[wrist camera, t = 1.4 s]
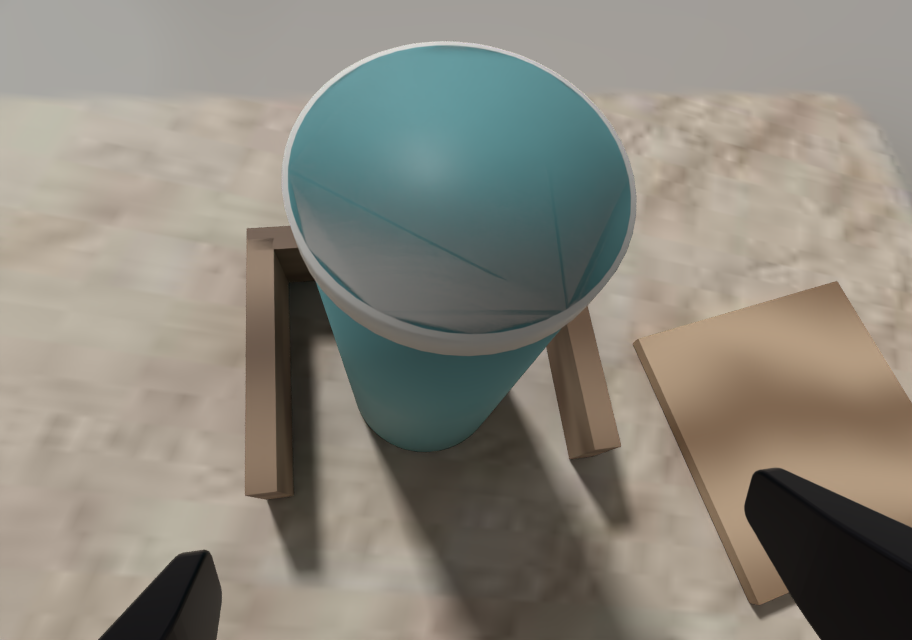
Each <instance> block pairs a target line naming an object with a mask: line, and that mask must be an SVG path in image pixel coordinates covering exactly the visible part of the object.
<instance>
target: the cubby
mask: <svg viewBox="0 0 912 640" xmlns="http://www.w3.org/2000/svg"><path fill="white" fill-rule="evenodd" d="M302 281H315V279H314V278H313V276H312V275H311V274H310V272H309V270H308V268H307V266H306V264H305V262H304V260H303V258H302V256H301V254H300V252H299V249H298V246H297V243H296V241H295V238H294V235H293V232H292V229H291V226H280V227H264V228H247V262H246V411H245V496H250V497H255V498H261V499H266V500H267V499H275V498H282V497H290V496H294V488H293V447H292V407H291V366H290V325H289V284H288V283H289V282H302ZM546 348H547V352H548V357H549V362H550V367H551V372H552V377H553V382H554V387H555V391H556V396H557V401H558V406H559V411H560V416H561V421H562V426H563V430H564V435H565V440H566V445H567V450H568V455H569V459H577V458H584V457H592V456H595V455H598V454H601V453H604V452H607V451H609V450H612V449H615V448H618V447H621V443H620V439H619V435H618V431H617V427H616V422H615V418H614V414H613V410H612V406H611V402H610V398H609V393H608V389H607V385H606V381H605V377H604V373H603V368H602V364H601V360H600V356H599V352H598V348H597V344H596V339H595V335H594V331H593V327H592V323H591V319H590V315H589V310H588V306H587V307H586V308H585V309H584V310H583V311H582V312H581V313H579V314H578V315H577V316H576V317H575V318H574V319H573V320H572V321H571V322H569V323H568V324H566V325H565V326H564V327H562V328H561V329H560V331H559V332H558V333H557V334H556V335H555V337H554V338H553V339H552V340H551V341H550V343H549V344H548V345H547V346H546Z"/></svg>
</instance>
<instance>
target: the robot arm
mask: <svg viewBox="0 0 912 640" xmlns="http://www.w3.org/2000/svg"><path fill="white" fill-rule="evenodd" d="M744 512H745V516H746V518H747V521H748V523H749V524H750V526H751V528H752V529H753V531H754V533H755V535H756V536H757V538H758V540H759V541H760V543H761V545H762V547H763V548H764V550H765V552H766V554H767V555H768V557H769V559H770V560H771V562H772V564H773V566H774V567H775V569H776V571H777V572H778V574H779V576H780V578H781V579H782V581H783V583H784V584H785V586H786V588H787V590H788V591H789V593H790V595H791V596H792V598H793V599H794V601H795V603H796V604H797V606H798V607H799V609H800V610H801V612H802V613H803V615H804V616H805V618H806V619H807V621H808V622H809V624H810V625H811V626H812V628H813V629H814V631H815V632H816V634H817V635H818V636H819V638H820V639H821V640H912V527H910V526H907V525H905V524H903V523H901V522H899V521H896V520H894V519H892V518H890V517H888V516H885V515H883V514H881V513H879V512H877V511H874V510H872V509H870V508H868V507H866V506H863V505H861V504H859V503H857V502H855V501H852V500H850V499H848V498H846V497H844V496H842V495H839V494H837V493H835V492H833V491H831V490H828V489H826V488H824V487H822V486H820V485H817V484H815V483H813V482H811V481H809V480H806V479H804V478H802V477H800V476H798V475H795V474H793V473H791V472H789V471H787V470H784V469H782V468H768V469H761V470H757V471H755V472H754V474H753V475H752V478H751V481H750V485H749V489H748V492H747V496H746V500H745V504H744ZM221 603H222V591H221V585H220V582H219V579H218V575H217V572H216V568H215V565H214V562H213V558H212V555H211V554H210V552H209V551H207V550H199V551H192V552H185V553H181V554H179V555H178V556H176V557H175V558H174V559H173V560H172V561H171V562H170V563H169V564H168V565H167V566H166V567H165V569H164V570H163V571H162V572H161V573H160V574H159V575H158V576H157V577H156V578H155V579H154V580H153V581H152V583H151V584H150V585H149V586H148V587H147V588H146V589H145V590H144V591H143V592H142V593H141V594H140V595H139V596H138V598H137V599H136V600H135V601H134V602H133V603H132V604H131V605H130V606H129V607H128V608H127V609H126V610H125V611H124V613H123V614H122V615H121V616H120V617H119V618H118V619H117V620H116V621H115V622H114V623H113V624H112V625H111V626H110V628H109V629H108V630H107V631H106V632H105V633H104V634H103V635H102V636H101V637H100V638H99V639H98V640H216V639H217V632H218V625H219V618H220V611H221Z"/></svg>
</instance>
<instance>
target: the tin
mask: <svg viewBox="0 0 912 640" xmlns="http://www.w3.org/2000/svg"><path fill="white" fill-rule="evenodd" d="M282 194H283V200H284V206H285V211H286V214H287V217H288V220H289V223H290V226H291V229H292V232H293V235H294V238H295V241H296V243H297V246H298V249H299V252H300V254H301V256H302V258H303V260H304V262H305V264H306V266H307V268H308V270H309V272H310V274H311V275H312V276H313V278H314V279H315V281H316V284H317V287H318V290H319V293H320V296H321V298H322V301H323V304H324V307H325V310H326V313H327V316H328V319H329V322H330V325H331V328H332V331H333V334H334V337H335V340H336V343H337V346H338V349H339V352H340V355H341V358H342V361H343V364H344V367H345V370H346V373H347V376H348V379H349V382H350V385H351V388H352V391H353V394H354V397H355V400H356V403H357V406H358V408H359V410H360V412H361V414H362V417H363V418H364V419H365V421H366V422H367V424H368V425H369V426H370V427H371V429H372V430H373V431H374V432H375V433H377V434H378V435H379V436H380V437H381V438H383V439H384V440H386V441H387V442H389V443H391V444H393V445H395V446H397V447H400V448H403V449H406V450H411V451H417V452H432V451H439V450H443V449H447V448H450V447H452V446H455V445H457V444H459V443H460V442H462V441H464V440H465V439H467V438H468V437H469V436H471V435H472V434H473V433H474V432H475V431H476V430H477V429H478V428H479V427H480V426H481V424H482V423H483V422H484V421H485V420H486V418H487V417H488V416H489V415H490V414H491V412H492V411H493V410H494V409H495V408H496V406H497V405H498V404H499V403H500V402H501V400H502V399H503V398H504V397H505V395H506V394H507V393H508V392H509V391H510V389H511V388H512V387H513V386H514V385H515V383H516V382H517V381H518V380H519V379H520V377H521V376H522V375H523V374H524V373H525V371H526V370H527V369H528V368H529V367H530V365H531V364H532V363H533V362H534V361H535V359H536V358H537V357H538V356H539V355H540V353H541V352H542V351H543V350H544V349H545V347H546V346H547V345H548V344H549V343H550V341H551V340H552V339H553V338H554V337H555V335H556V334H557V333H558V332H559V331H560V329H561V328H562V327H564V326H565V325H566V324H568V323H569V322H571V321H572V320H573V319H574V318H575V317H576V316H577V315H578V314H579V313H581V312H582V311H583V310H584V309H585V308H586V307H587V306H588V305H589V304H590V302H591V301H592V300H593V299H594V298H595V297H596V295H597V294H598V293H599V292H600V291H601V290H602V288H603V287H604V286H605V285H606V283H607V282H608V281H609V280H610V278H611V277H612V276H613V274H614V273H615V272H616V270H617V269H618V267H619V265H620V263H621V261H622V259H623V257H624V256H625V254H626V252H627V249H628V246H629V243H630V240H631V237H632V234H633V229H634V224H635V218H636V189H635V181H634V175H633V172H632V168H631V164H630V161H629V158H628V156H627V153H626V151H625V149H624V146H623V144H622V142H621V140H620V138H619V136H618V135H617V133H616V131H615V130H614V128H613V126H612V125H611V123H610V122H609V121H608V119H607V118H606V117H605V116H604V114H603V113H602V112H601V110H600V109H599V108H598V107H597V106H596V105H595V104H594V103H593V102H592V101H591V100H590V99H589V98H588V97H587V96H586V95H585V94H584V93H583V92H582V91H580V90H579V89H578V88H577V87H576V86H574V85H573V84H572V83H571V82H569V81H567V80H566V79H565V78H563V77H562V76H560V75H559V74H557V73H556V72H554V71H553V70H551V69H549V68H547V67H545V66H543V65H541V64H539V63H538V62H536V61H533V60H531V59H528V58H526V57H523V56H521V55H519V54H516V53H512V52H509V51H506V50H503V49H499V48H496V47H490V46H486V45H481V44H473V43H465V42H426V43H415V44H410V45H405V46H400V47H395V48H392V49H389V50H385V51H382V52H379V53H376V54H374V55H371V56H369V57H367V58H365V59H362V60H360V61H358V62H356V63H355V64H353V65H351V66H349V67H348V68H346V69H344V70H343V71H341V72H340V73H338V74H337V75H336V76H335V77H333V78H332V79H331V80H329V81H328V82H327V83H326V84H325V85H324V86H323V87H322V88H321V89H320V90H319V91H318V92H317V93H316V94H315V95H314V96H313V97H312V98H311V99H310V101H309V102H308V103H307V105H306V106H305V107H304V109H303V110H302V112H301V113H300V115H299V117H298V119H297V120H296V122H295V124H294V126H293V128H292V130H291V133H290V136H289V139H288V142H287V145H286V148H285V152H284V158H283V164H282Z"/></svg>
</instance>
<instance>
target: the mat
mask: <svg viewBox="0 0 912 640" xmlns="http://www.w3.org/2000/svg"><path fill="white" fill-rule="evenodd" d="M633 345H634V347H635V349H636V352H637V354H638V356H639V358H640V360H641V363H642V365H643V367H644V369H645V372H646V374H647V376H648V378H649V380H650V383H651V385H652V387H653V389H654V392H655V394H656V396H657V398H658V400H659V403H660V405H661V407H662V409H663V412H664V414H665V416H666V418H667V420H668V423H669V425H670V427H671V429H672V432H673V434H674V436H675V438H676V440H677V443H678V445H679V447H680V449H681V452H682V454H683V456H684V458H685V461H686V463H687V465H688V467H689V469H690V472H691V474H692V476H693V478H694V481H695V483H696V485H697V487H698V489H699V492H700V494H701V496H702V498H703V501H704V503H705V505H706V507H707V509H708V512H709V514H710V516H711V518H712V521H713V523H714V525H715V527H716V529H717V532H718V534H719V536H720V538H721V541H722V543H723V545H724V547H725V549H726V552H727V554H728V556H729V558H730V561H731V563H732V565H733V567H734V569H735V572H736V574H737V576H738V578H739V581H740V583H741V585H742V587H743V589H744V592H745V594H746V596H747V598H748V601H749V603H752V604H756V605H761V604H764V603H766V602H768V601H770V600H773V599H775V598H777V597H780V596H782V595H784V594H787V593H789V591H788V590H787V588H786V586H785V584H784V583H783V581H782V579H781V578H780V576H779V574H778V572H777V571H776V569H775V567H774V566H773V564H772V562H771V560H770V559H769V557H768V555H767V554H766V552H765V550H764V548H763V547H762V545H761V543H760V541H759V540H758V538H757V536H756V535H755V533H754V531H753V529H752V528H751V526H750V524H749V523H748V521H747V518H746V516H745V512H744V504H745V500H746V496H747V492H748V489H749V485H750V481H751V478H752V475H753V474H754V472H755V471H757V470H761V469H768V468H782V469H784V470H787V471H789V472H791V473H793V474H795V475H798V476H800V477H802V478H804V479H806V480H809V481H811V482H813V483H815V484H817V485H820V486H822V487H824V488H826V489H828V490H831V491H833V492H835V493H837V494H839V495H842V496H844V497H846V498H848V499H850V500H852V501H855V502H857V503H859V504H861V505H863V506H866V507H868V508H870V509H872V510H874V511H877V512H879V513H881V514H883V515H885V516H888V517H890V518H892V519H894V520H896V521H899V522H901V523H903V524H905V525H907V526H910V527H912V403H911V401H910V400H909V398H908V396H907V395H906V393H905V391H904V390H903V388H902V387H901V385H900V383H899V382H898V380H897V378H896V377H895V375H894V373H893V372H892V370H891V369H890V367H889V365H888V364H887V362H886V360H885V359H884V357H883V355H882V354H881V352H880V351H879V349H878V347H877V346H876V344H875V342H874V341H873V339H872V337H871V336H870V334H869V333H868V331H867V329H866V328H865V326H864V324H863V323H862V321H861V319H860V318H859V316H858V315H857V313H856V311H855V310H854V308H853V306H852V305H851V303H850V301H849V300H848V298H847V297H846V295H845V293H844V292H843V290H842V288H841V287H840V285H839V283H838V282H837V281H836V282H832V283H829V284H825V285H822V286H818V287H815V288H811V289H808V290H805V291H801V292H798V293H794V294H791V295H787V296H784V297H781V298H777V299H774V300H770V301H767V302H763V303H760V304H756V305H753V306H750V307H746V308H743V309H739V310H736V311H732V312H729V313H726V314H722V315H719V316H715V317H712V318H708V319H705V320H701V321H698V322H695V323H691V324H688V325H684V326H681V327H677V328H674V329H670V330H667V331H664V332H660V333H657V334H653V335H650V336H646V337H643V338H640V339H638V340H636V341H635V342H634V343H633Z"/></svg>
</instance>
